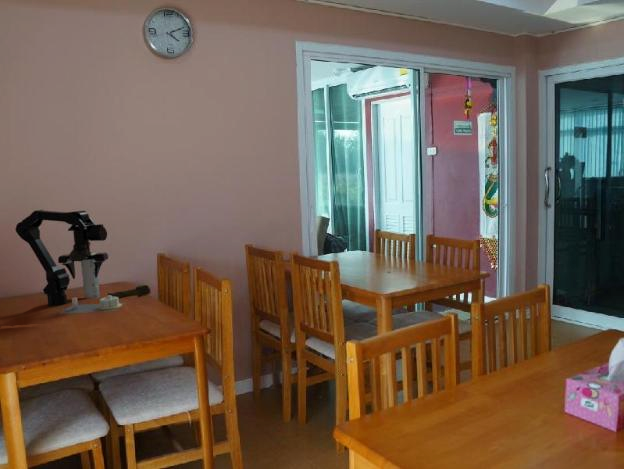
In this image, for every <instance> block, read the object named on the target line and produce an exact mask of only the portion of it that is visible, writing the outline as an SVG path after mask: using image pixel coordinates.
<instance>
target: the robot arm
mask: <svg viewBox="0 0 624 469" xmlns="http://www.w3.org/2000/svg"><path fill="white" fill-rule="evenodd" d="M43 221H48V222H49V221H51V222H52V221H53V222H62V223H65V224H67V225H71V226H70V227H69V228H68V229H67V231H68V232H72V234H73V246H72V250H71V251H70V253H68V254H62V255H59V256H58V258H57V261H58V263H57V264H56V262H55V260H54V259H53V257H52V256H51V254H50V252H49V251H48V249H47V247H46V246H45V244H44V243H43V241H42V239H41V232H40V231H41V230H40V227H41V225H42V224H43ZM14 229H15V232H16V233H17V235H18V236H19V237H20V239H22V240H23V241H25V243H27V244H28V245H29V246H30V249H31V250H32V252H33V253H34V254H35V256H36V258H37V260H38V262H39V263H40V265H41V266H42V268H43V271H44V272H45V281H46V283H47V284H46V285H45V287H44V288H43V289H42V291H43V293H44V295H47V296H46V297H47V303H48V304H47V305H48V306H51V307H57V306H64V305H66V304H68V299H67V297H68V296H67V294H66V291H67V290H68V286H69V285H70V281H71V278H70V276H71V277H72V280H75V279H76V268H75V262H81V261H83V260H93V259H94V260H95V262H94V265H95V278H97V277H98V278H99V273H100V269H101V266H102V265H103V263H104V262H106V260H108V259H109V254H108V253H107V252H97V253H96V254H94V255H91V253H92V252H91V242H95V241H97V242H100V241H103V242H104V241H105V240H106V239H107V237H108V231H107V229H106V228H105V226H104V223H99V224H96V223H95V222H94V221H93V220H92V218H91V217H90V215H89V213H88V211H86V210H83V209H82V210H76V211H66V212H65V211H54V210H45V209H37V210H33V211H32V212H31V213H30V214H29V215H28V216H26V217H25V218H24V219H22V220H21V221H20V222H18V223H17V224H16V227H15V228H14ZM58 264H61V266H65V268H64V267H63V268H60V267H59V266H58ZM66 268H67V269H68V271H69V273H70V274H69V273H67V270H66Z"/></svg>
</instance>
